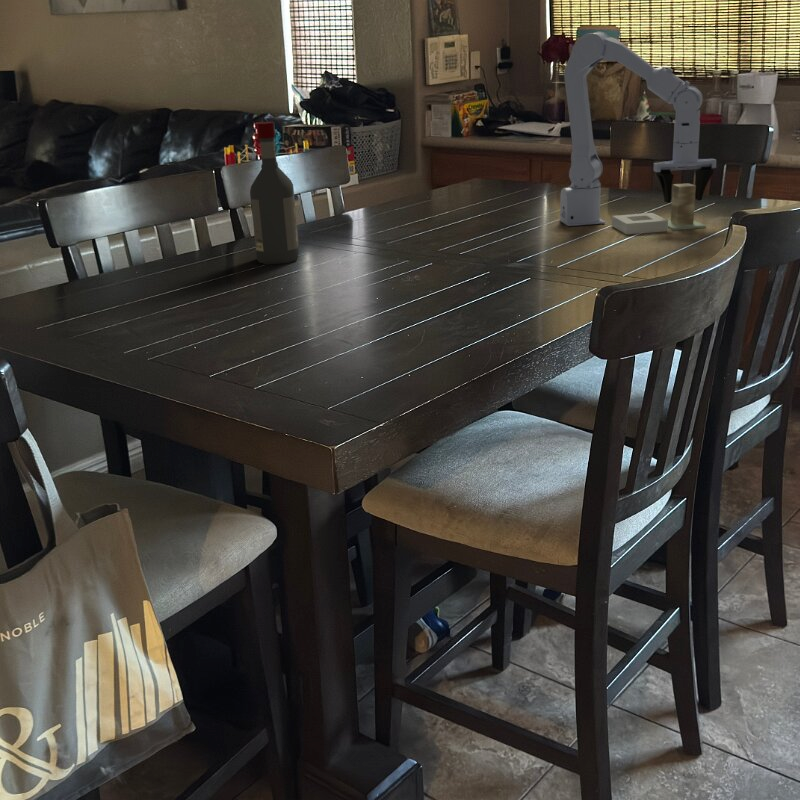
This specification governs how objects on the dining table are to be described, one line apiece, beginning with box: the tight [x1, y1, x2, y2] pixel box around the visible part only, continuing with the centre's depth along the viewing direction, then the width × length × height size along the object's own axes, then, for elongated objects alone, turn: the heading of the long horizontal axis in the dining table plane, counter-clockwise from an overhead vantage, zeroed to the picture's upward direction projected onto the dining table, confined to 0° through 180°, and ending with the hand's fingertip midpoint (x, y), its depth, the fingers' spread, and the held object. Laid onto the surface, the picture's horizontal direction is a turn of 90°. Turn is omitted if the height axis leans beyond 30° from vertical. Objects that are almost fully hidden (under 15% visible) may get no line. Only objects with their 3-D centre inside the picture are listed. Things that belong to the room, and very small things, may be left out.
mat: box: [667, 219, 707, 231], centre depth 236 cm, size 8×9×1 cm
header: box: [611, 212, 669, 235], centre depth 235 cm, size 10×10×2 cm
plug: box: [670, 182, 696, 225], centre depth 234 cm, size 4×4×9 cm
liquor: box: [249, 121, 300, 265], centre depth 219 cm, size 9×9×30 cm
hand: (683, 200), depth 234 cm, fingers open, 7 cm apart
